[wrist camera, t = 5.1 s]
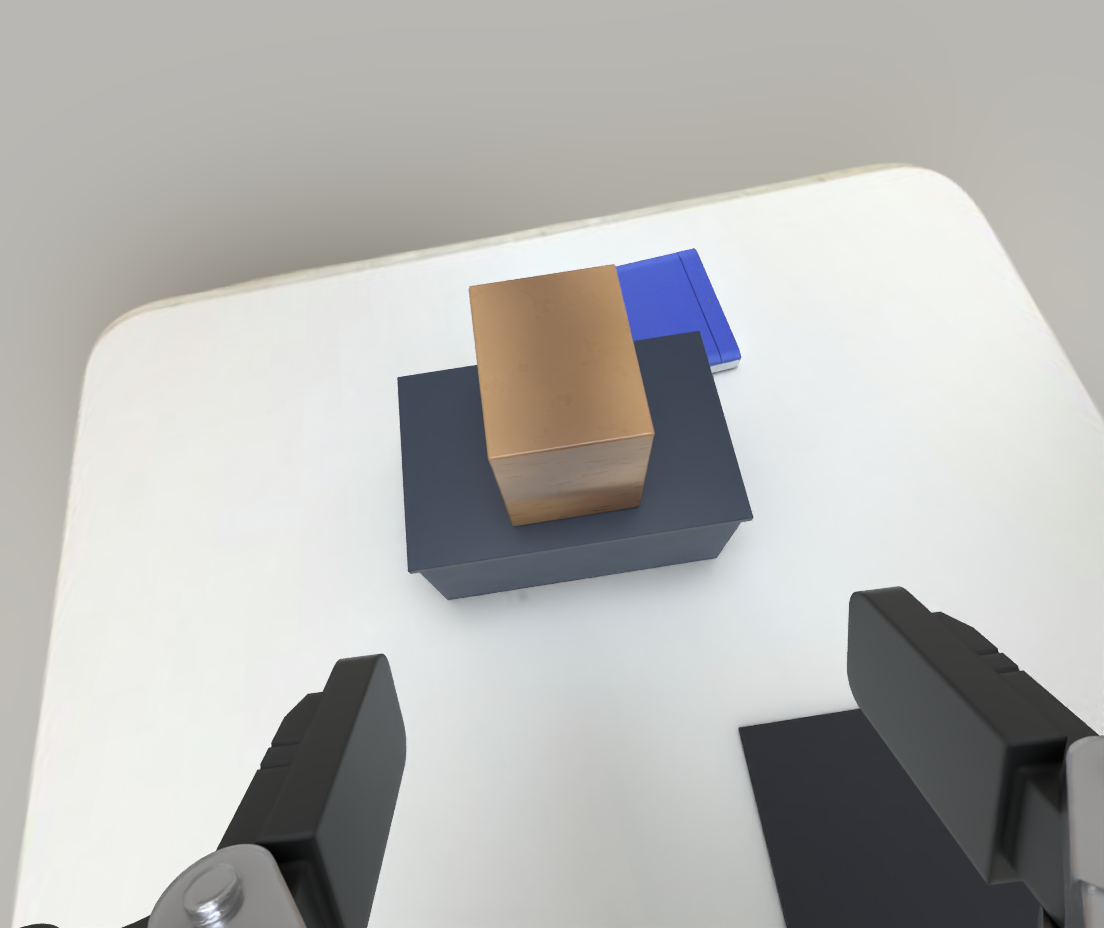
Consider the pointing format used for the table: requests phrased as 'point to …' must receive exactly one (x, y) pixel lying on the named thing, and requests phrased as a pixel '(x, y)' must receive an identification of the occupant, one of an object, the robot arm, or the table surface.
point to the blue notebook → (677, 304)
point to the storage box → (578, 542)
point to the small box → (561, 394)
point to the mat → (863, 835)
